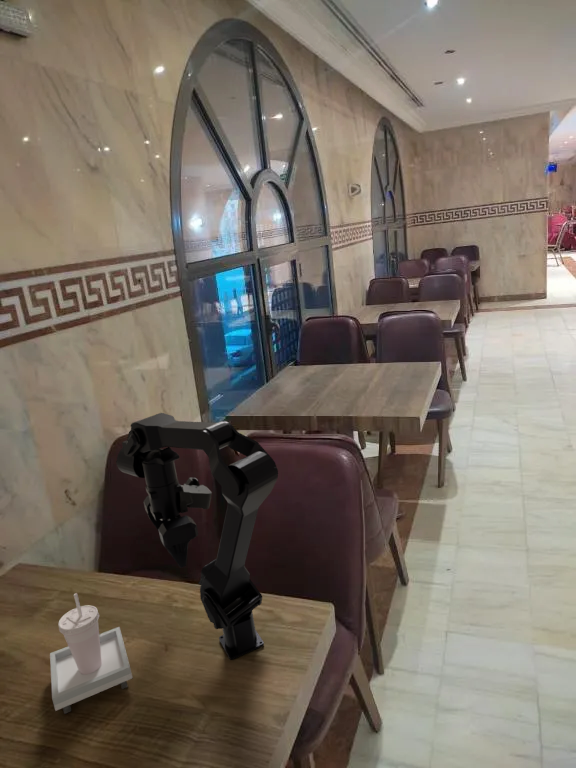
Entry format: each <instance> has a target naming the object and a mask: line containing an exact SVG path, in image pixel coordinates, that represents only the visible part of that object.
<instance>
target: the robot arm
mask: <svg viewBox="0 0 576 768" xmlns="http://www.w3.org/2000/svg"><path fill="white" fill-rule="evenodd" d="M128 431H129V432H128V435H127V439H126V440H124V441H122V442H121V446H122V448H121V449H120V450H119V451H118V454H117V457H116V461H115V463H116V467H117V468H118V470H119V471H120V472H122V473H124V474H128V475H131V476H133V477H137V478H140V479H145V484H146V486H145V487H144V488H145V491H146V493H147V496H146V497H145V499H144V500H143V506H144V509H145V512H146V514H147V516H148V518H149V520H150V521H151V522H152V524H153V526H154V527H155V529H156V530H157V532H158V533H159V538H160V541H161V543H162V545H163V547H164V548H165V549H166V550H167V552H168V553H169V554H170V556H171V557H172V558H173V560H174V561H175V562H176V564H177V565H178V567H179V568H185V567H186V566H187V562H188V560H187V559H188V550H189V543H190V542H191V540H193V539H195V538H196V537H198V536H199V530H198V525H197V524H196V522H195V521H194V519H193V518H192V517H190V516H189V515H186V514H185V515H183V516H181V514H184V513H187V512H189V508H190V509H203V510H208V509H210V505H211V500H212V493H213V492H212V491H211V490H210V489H209V488H208V486H206V485H204V484H200V482H199V479H198V478H196V477H188V479H187V480H186V482H184V483H183V485H182V484H180V482H179V479H178V476H177V475H178V473H177V469H176V464H175V461H176V460H179V459H180V455H179V454H178V453H177V452H176V451H174V450H173V449H172V448H176V449H178V448H179V449H188V450H189V449H190V450H199V451H203V452H204V454H206V455H207V456H208V462H209V467H210V468H209V469H210V472H211V475H212V477H213V478H214V479H215V480H216V482H217V483H218V484H219V485H220V486H221V494H222V496H223V497H224V499H225V500H226V502H227V507H226V512H225V517H224V522H223V525H222V532H221V537H220V540H219V541H220V542H219V546H218V551H217V556H216V558H215V559H213V560H212V561H211V562H209V563H207V564H206V565H204V566H202V568H201V570H200V578H199V581H198V584H199V585H200V587H199V595H200V601H201V603H202V606H203V608H204V611H205V613H206V615H207V618H208V620H209V622H210V623H212V624H213V627H214V628H213V629H215V630H220V629H221V630H222V635H220V636H219V637H218V640H219V643H220V644H221V646H222V647H223V649H224V651H225V653H226V656H227V657H228V659H229V660H235V659H237V658H239V657H242V656H244V655H246V654H248V653H250V652H253V651H255V650H258V649H259V648H261V647H264V645H265V642H264V639H262V637H261V636H260V634H259V633H258V631H257V630H256V626H255V625H256V624H255V618H254V614H253V610H255V609H256V608H257V607H258V606H260V605H261V604H262V603H263V602H262V601H263V595H262V593H261V592H260V591H259V589H258V588H257V587H256V585H255V584H254V582H253V581H252V580H251V578H250V576H251V575H250V572H249V571H248V569H247V568H246V566H245V564H246V560H247V556H248V551H249V548H250V545H251V539H252V535H253V532H254V527H255V524H256V520H257V516H258V511H259V508H260V506H261V505H262V504H263V502H264V501H265V500H266V499H267V498H268V497H269V495H270V494H271V493H272V491H273V489H274V487H275V485H276V483H277V481H278V478H279V470H278V467H277V465H276V461H274V458H272V456H271V455H270V454H269V453H268V452H267V451H266V449H265V448H263V446H262V445H261V444H260V443H259V442H258V441H256V439H255V440H254V439H253V438H250V437H249V436H247V435H244V434H242V433H240V432H239V431H237V429H236V428H235V427H234V426H233V424H231V422H229V421H222V420H221V421H219V422H210V421H207V422H206V421H185V420H184V421H183V420H182V421H181V420H176V419H175V416H174V415H171V414H168V413H164V412H160V413H156V414H153V415H151V416H148V417H145V418H142V419H140V420H137V421H134V422H132V423H130V430H128ZM225 447H228V448H229V449H231V450H233V451H235V452H237V453H239V454H241V455H243V456H245V457H243V458H240V459H238V460H236V461H234V462H233V463H230V464H229V465H227V464H226V463H225V462H224V461H223V460H222V456H221V449H223V448H225Z"/></svg>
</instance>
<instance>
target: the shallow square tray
mask: <svg viewBox="0 0 576 768" xmlns="http://www.w3.org/2000/svg"><path fill="white" fill-rule="evenodd" d="M99 637H100V648H101V658H102V665H101V667H100V668H99V669H98V670H97V671H95V672H93V673H91V674H87V675H84V674H81V673H80V672H79V669H78V667H77V665H76V662H75V660H74V658H73V656H72V653H71V651H70V649H69V646H68V645H67V646H66V647H63V648H61V649H57V650H55V651H52V652H50V653H49V659H50V661H49V662H50V679H51V680H50V681H51V683H50V684H51V699H52V703H53V708H54V710H55V712H56V711H59V710H61V709H62V710H63V714H68V713H70V712H72V704H76V703H78V702H80V701H82V700H85V699H87V698H89V697H91V696H94V695H96V694H99V693H100V692H101V693H102V692H104V691H106V690H108V689H111V688H112V687H115V686H118V685H120V687H121V690H124V689H127V688H128V687H129V685H128V681H129V680H131V679H133V673H132V669H131V665H130V662H129V661H130V660H129V658H128V655H127V651H126V645H125V643H124V639H123V635H122V631H121V627H120V626H118V627H117V626H116V627H114V628H112V629H110V630H106V631H104V632H102V633H99Z"/></svg>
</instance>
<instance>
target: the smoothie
mask: <svg viewBox="0 0 576 768" xmlns="http://www.w3.org/2000/svg"><path fill="white" fill-rule="evenodd" d="M73 597H74V602H75V606H76V607H75V608H73V609H70V610H68V612H66V613H64V614H63V615H62V616H61V617H60V619H59V621H58V625H57V626H58V631H59V633H60V634H62V635H63V636H64V640H65V642H66V644H67V647H68V646H69V649H70V651H71V653H72V656H73V658H74V660H75V662H76V665H77V667H78V669H79V672H80V673H81V674H84V675H87V674H91V673H93V672H95V671H97V670H98V669H99V668H100V667H101V665H102V658H101V648H100V637H99V634H100V629H99V628H100V627H99V626H100V625H99V619H100V612H99V611H98V608H97V607H96V606H94V605H88V604H87V605H80V604H81V603H80V599H79V596H78V593H77V592H76V593H74V594H73Z"/></svg>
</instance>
